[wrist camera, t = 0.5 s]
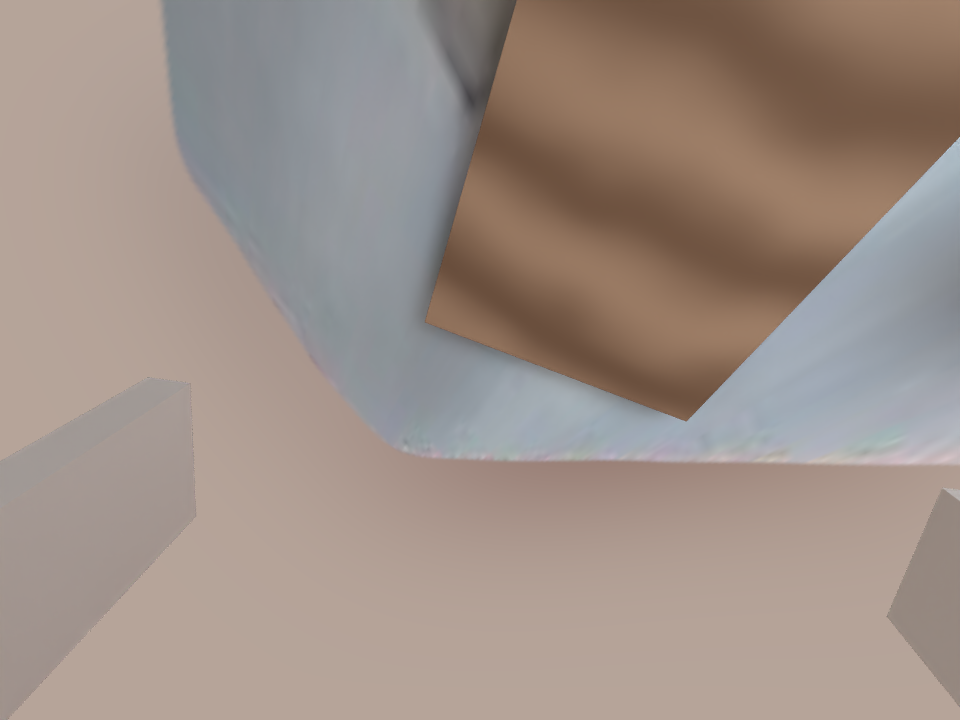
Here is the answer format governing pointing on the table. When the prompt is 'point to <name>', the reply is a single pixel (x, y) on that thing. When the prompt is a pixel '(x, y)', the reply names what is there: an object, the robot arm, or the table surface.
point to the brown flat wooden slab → (685, 177)
